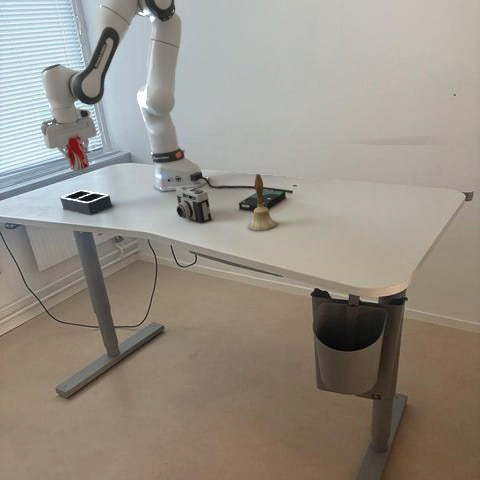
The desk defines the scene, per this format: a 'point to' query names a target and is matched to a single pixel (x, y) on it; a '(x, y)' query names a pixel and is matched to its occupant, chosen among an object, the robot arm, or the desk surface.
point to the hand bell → (261, 210)
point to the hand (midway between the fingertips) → (76, 155)
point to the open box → (86, 202)
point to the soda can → (76, 154)
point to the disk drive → (268, 200)
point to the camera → (193, 204)
